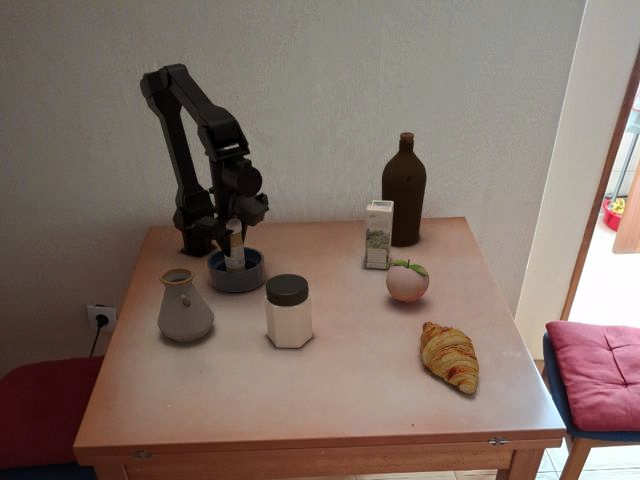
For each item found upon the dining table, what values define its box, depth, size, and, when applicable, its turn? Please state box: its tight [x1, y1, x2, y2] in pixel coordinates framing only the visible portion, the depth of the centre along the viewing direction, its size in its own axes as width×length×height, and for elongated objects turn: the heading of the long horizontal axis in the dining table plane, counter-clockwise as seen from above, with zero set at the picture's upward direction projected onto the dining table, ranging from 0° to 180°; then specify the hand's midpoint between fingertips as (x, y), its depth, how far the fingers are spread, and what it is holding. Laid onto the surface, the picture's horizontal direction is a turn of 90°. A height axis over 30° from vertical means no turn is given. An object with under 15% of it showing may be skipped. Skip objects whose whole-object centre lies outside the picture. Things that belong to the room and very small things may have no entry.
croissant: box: [419, 321, 480, 394], centre depth 113 cm, size 21×10×8 cm, turn 16°
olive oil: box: [381, 131, 428, 247], centre depth 147 cm, size 11×11×25 cm
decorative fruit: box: [385, 259, 430, 303], centre depth 129 cm, size 9×8×10 cm
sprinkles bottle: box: [224, 218, 245, 272], centre depth 136 cm, size 5×5×13 cm
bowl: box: [206, 246, 267, 293], centre depth 139 cm, size 13×13×5 cm
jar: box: [263, 273, 313, 349], centre depth 119 cm, size 9×8×12 cm
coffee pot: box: [157, 267, 215, 343], centre depth 117 cm, size 21×12×15 cm, turn 18°
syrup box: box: [364, 199, 394, 271], centre depth 140 cm, size 6×6×14 cm
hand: (234, 252), depth 136 cm, fingers closed on sprinkles bottle, 4 cm apart
